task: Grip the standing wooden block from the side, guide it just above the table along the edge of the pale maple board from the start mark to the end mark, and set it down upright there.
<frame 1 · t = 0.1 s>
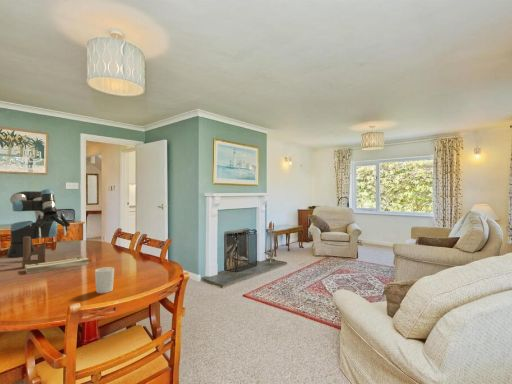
hand: (53, 236, 185), 15 cm above the table, tool tilted 35°, fingers open, 13 cm apart
maple board: (58, 267, 168), on the table
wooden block: (34, 266, 169), on the table
white cup: (104, 291, 130), on the table
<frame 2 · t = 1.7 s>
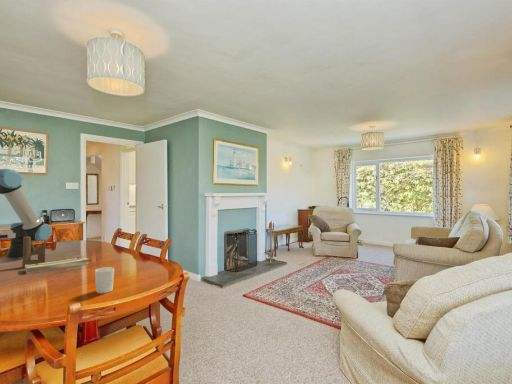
hand: (14, 234, 162), 20 cm above the table, tool horizontal, fingers open, 13 cm apart
nothing on the table moved.
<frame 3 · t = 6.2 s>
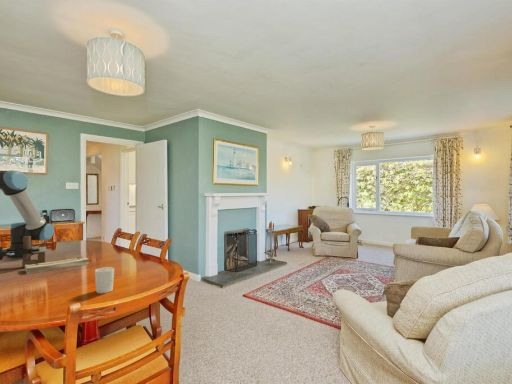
hand: (45, 248, 173), 10 cm above the table, tool horizontal, fingers closed on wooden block, 4 cm apart
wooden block: (33, 266, 169), on the table, touching gripper
everything else where it was.
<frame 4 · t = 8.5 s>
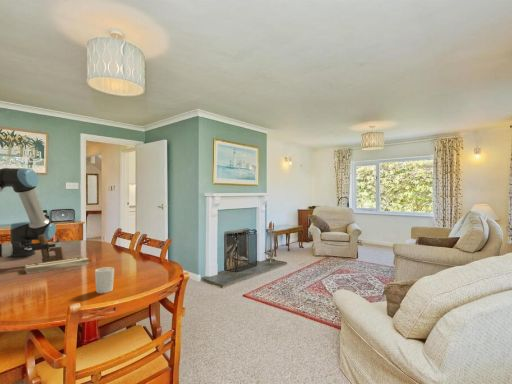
hand: (60, 244, 177), 12 cm above the table, tool horizontal, fingers closed on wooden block, 3 cm apart
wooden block: (54, 261, 176), point 1 cm above the table, touching gripper
everything else where it was.
when the fingers open (12 cm above the table, at t = 11.1 s): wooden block stays where it is, on the table.
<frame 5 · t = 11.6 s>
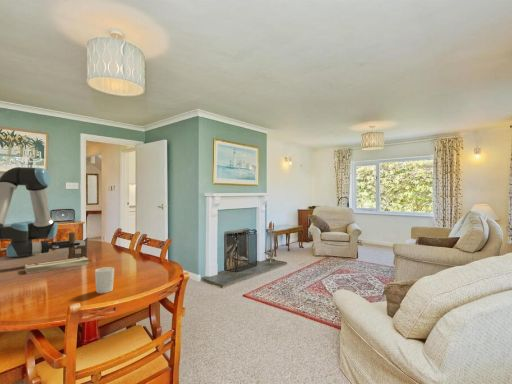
hand: (83, 242, 187), 11 cm above the table, tool horizontal, fingers open, 5 cm apart
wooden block: (77, 259, 187), on the table
everything else where it was.
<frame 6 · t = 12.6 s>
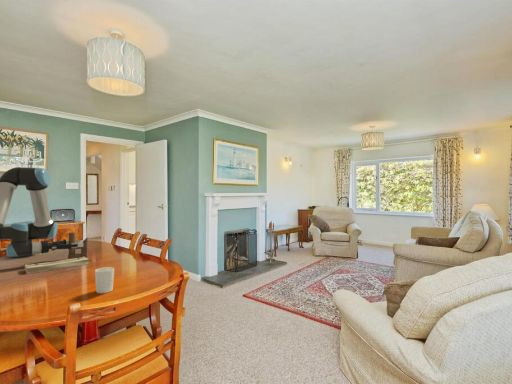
hand: (80, 242, 186), 11 cm above the table, tool horizontal, fingers open, 13 cm apart
nothing on the table moved.
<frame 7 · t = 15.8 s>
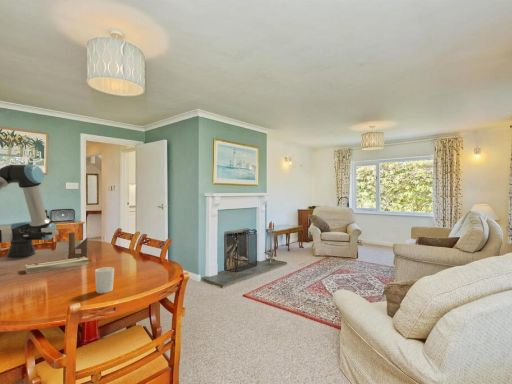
hand: (56, 231, 176), 20 cm above the table, tool horizontal, fingers open, 13 cm apart
nothing on the table moved.
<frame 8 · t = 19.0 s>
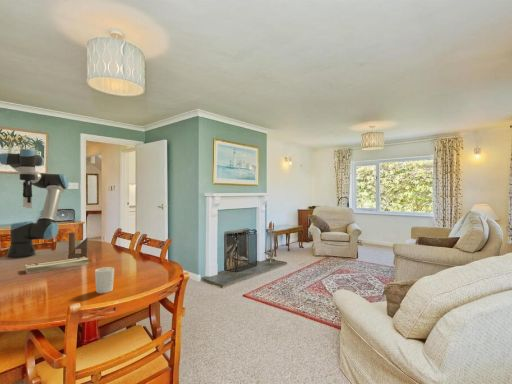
hand: (27, 207, 176), 35 cm above the table, tool pointing down, fingers open, 13 cm apart
nothing on the table moved.
at the end: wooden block inside the target area (3.0 cm from its centre), on the table; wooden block tilted 0°; the gripper is holding nothing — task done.
